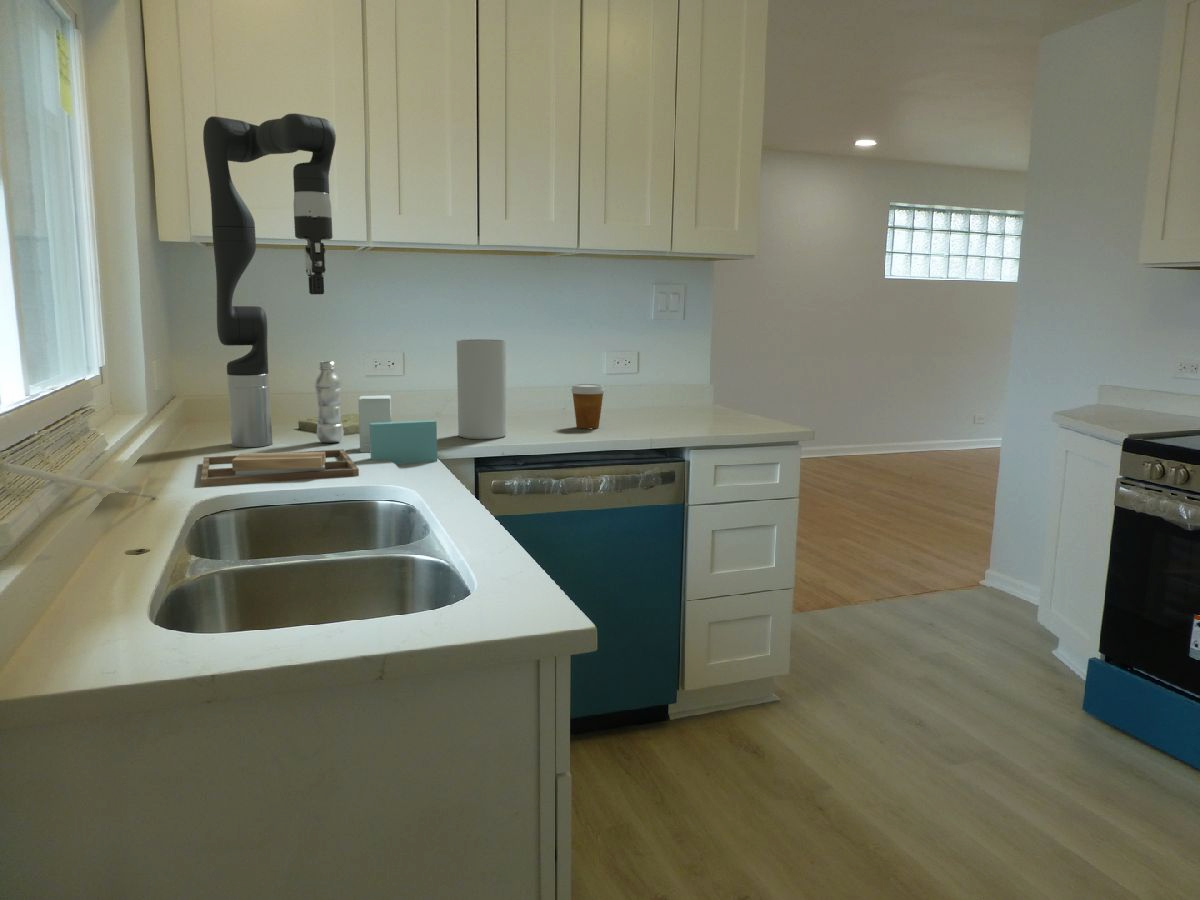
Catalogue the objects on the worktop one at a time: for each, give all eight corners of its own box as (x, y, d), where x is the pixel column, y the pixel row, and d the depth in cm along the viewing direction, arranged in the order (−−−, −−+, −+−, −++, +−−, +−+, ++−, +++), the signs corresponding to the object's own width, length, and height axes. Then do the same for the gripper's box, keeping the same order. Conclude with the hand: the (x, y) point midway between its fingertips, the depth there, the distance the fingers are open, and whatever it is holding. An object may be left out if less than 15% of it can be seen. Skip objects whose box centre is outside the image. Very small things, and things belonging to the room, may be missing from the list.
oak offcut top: (240, 463, 168) (239, 453, 167) (325, 461, 171) (325, 451, 170) (232, 470, 161) (231, 460, 160) (321, 468, 164) (320, 457, 164)
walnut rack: (204, 469, 178) (203, 457, 178) (343, 460, 189) (343, 449, 189) (201, 492, 156) (200, 479, 156) (359, 481, 167) (358, 468, 167)
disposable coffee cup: (565, 428, 239) (566, 386, 237) (577, 424, 248) (577, 383, 246) (598, 430, 236) (598, 387, 234) (608, 426, 245) (609, 384, 243)
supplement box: (392, 451, 201) (390, 398, 198) (359, 452, 199) (357, 398, 197) (393, 446, 208) (391, 394, 206) (361, 447, 206) (359, 395, 204)
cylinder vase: (516, 436, 225) (515, 340, 220) (477, 441, 216) (475, 342, 212) (487, 431, 233) (485, 338, 229) (448, 435, 225) (446, 340, 221)
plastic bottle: (343, 439, 217) (339, 360, 213) (345, 444, 211) (341, 362, 207) (316, 441, 215) (312, 361, 211) (317, 445, 208) (313, 363, 205)
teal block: (370, 464, 186) (369, 423, 184) (434, 459, 191) (433, 420, 190) (372, 466, 184) (371, 424, 182) (437, 461, 189) (436, 421, 188)
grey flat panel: (237, 475, 167) (236, 465, 166) (323, 470, 172) (323, 460, 172) (236, 482, 160) (235, 471, 160) (325, 476, 166) (325, 466, 165)
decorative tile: (339, 438, 223) (339, 424, 222) (297, 430, 235) (296, 417, 235) (397, 430, 237) (397, 417, 236) (355, 423, 249) (354, 411, 249)
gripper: (291, 217, 184) (295, 294, 187) (296, 211, 172) (300, 294, 174) (327, 219, 187) (331, 294, 190) (335, 213, 174) (338, 294, 177)
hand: (316, 294), depth 182 cm, fingers open, 8 cm apart
